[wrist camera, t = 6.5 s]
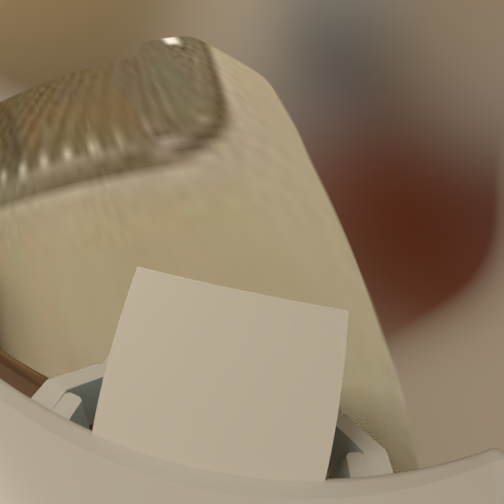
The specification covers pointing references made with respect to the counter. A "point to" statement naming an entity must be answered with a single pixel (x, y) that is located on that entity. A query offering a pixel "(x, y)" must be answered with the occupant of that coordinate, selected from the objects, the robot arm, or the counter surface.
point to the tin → (224, 379)
